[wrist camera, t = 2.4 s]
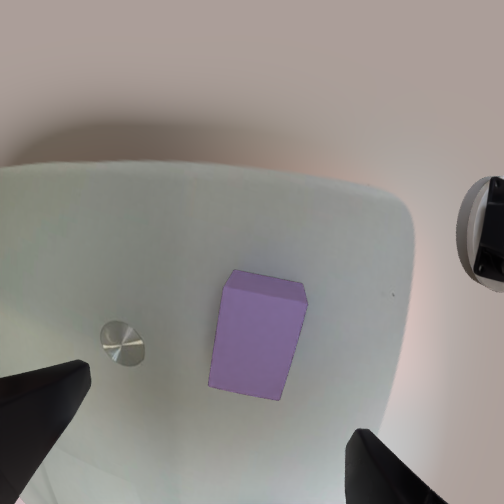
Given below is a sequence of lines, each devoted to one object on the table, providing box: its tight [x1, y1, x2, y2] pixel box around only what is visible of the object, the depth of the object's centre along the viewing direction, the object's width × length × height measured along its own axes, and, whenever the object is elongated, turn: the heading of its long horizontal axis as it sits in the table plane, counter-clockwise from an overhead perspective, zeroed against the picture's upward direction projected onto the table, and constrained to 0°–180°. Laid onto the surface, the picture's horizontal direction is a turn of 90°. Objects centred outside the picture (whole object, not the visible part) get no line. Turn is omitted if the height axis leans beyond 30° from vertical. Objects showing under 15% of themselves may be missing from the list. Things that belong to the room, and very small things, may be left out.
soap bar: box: [208, 270, 308, 401], centre depth 15 cm, size 6×4×3 cm, turn 169°
